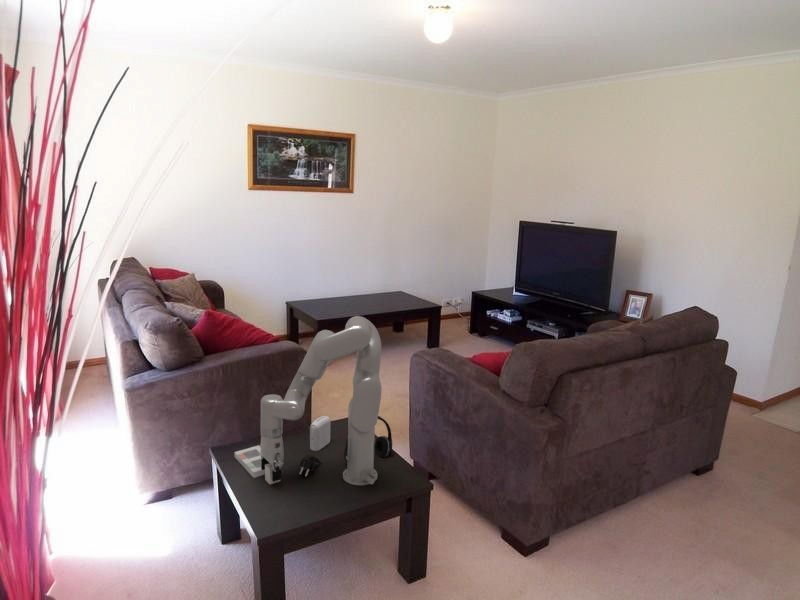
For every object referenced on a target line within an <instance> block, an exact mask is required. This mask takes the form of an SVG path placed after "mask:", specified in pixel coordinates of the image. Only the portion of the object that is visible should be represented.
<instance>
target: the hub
mask: <svg viewBox="0 0 800 600" xmlns="http://www.w3.org/2000/svg"><path fill="white" fill-rule="evenodd" d="M260 451H261V448H260V444H257V445H254V446H251V447H248V448H244V449H241V450H237V451H234V459H235V460H236V461H237V462H238V463H239V464H240V466H242V468H243V469H244V470H245V471H246V472H247V473H248V474H249V475H250V477H252V478H253V479H257V478H259V477H262V476H265V469H264V470H262V469H261V455H262V454H261V452H260ZM274 462H277V460H275V461H274ZM277 464H278V463H277Z"/></svg>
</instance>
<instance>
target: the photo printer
mask: <svg viewBox="0 0 800 600" xmlns="http://www.w3.org/2000/svg"><path fill="white" fill-rule="evenodd" d="M330 442H331V418H330V417H329V416H327V415H322V416H320V417H318V418H317V419H315V420H314V421H313V422H311V424H310V426H309V449H310V450H311V451H314V452H318V451H320V450H321V449H323V448H324V447H325V446H327V445H329V443H330Z"/></svg>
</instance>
